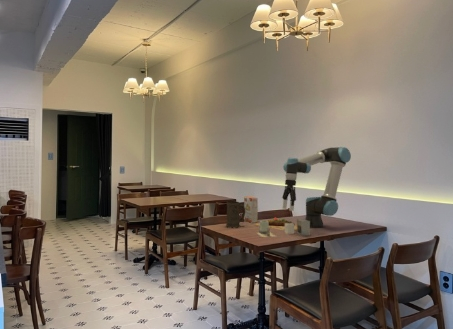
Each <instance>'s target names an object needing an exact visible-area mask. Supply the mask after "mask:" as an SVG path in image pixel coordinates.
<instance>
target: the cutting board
mask: <svg viewBox="0 0 453 329" xmlns="http://www.w3.org/2000/svg"><path fill="white" fill-rule="evenodd" d="M267 221H268V222H269V228H272V229H276V230H280V231H285V223H292V224H294V232H297V224H296V223H293V221H289V220H286V219H285V218H281V219H280V218H277V217H276V216H274V218H273V219H267ZM254 226H255V227H258V226H259V222H257V223H254Z"/></svg>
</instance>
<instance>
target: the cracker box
mask: <svg viewBox="0 0 453 329" xmlns="http://www.w3.org/2000/svg"><path fill="white" fill-rule="evenodd" d="M243 202H244V203H243V204H244V207H245V216H244V218H243V220H244V222H245V221H246V222H248V223H251V222H252V223H251V224H256V222H257V223H259V222H258V218H259V216H258V206H259V205H258V203H259V202H258V197H255V196H248V195H247V196H244V200H243Z"/></svg>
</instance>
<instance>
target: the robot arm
mask: <svg viewBox="0 0 453 329" xmlns="http://www.w3.org/2000/svg"><path fill="white" fill-rule="evenodd" d="M351 155H352V154H351V152H350V150H349V149H348V148H347V147H346V146H345V147H343V146H340V147H338V146H337V147H328V148H324V149H322V150H319V151H317V152H316V153H314V154H312V155H308V156H305V157H302V158H300V159H298V158H296V157H288V158H287V162H285V163H284V164H283V166H282V168H283V170H284V172H285V174H284V175H285V180H284V181H285V182H284V184H285V186H284V190H283V194H282V197H281V198H282V199H283V200H282V209H283V210H287V207H288V197H290V198H289V199H290V200H289V201H290V202H289V211H290V212H291V211H292V212H293V211H294V209H295V208H294V207H295V201H297V194H296V185H297V176H298V175H297V174H300V173H301V174H309V173H310V172H311V170H312V166H313V165H316V164H324V163H330V165H331V166H330V169H329V172H328V177H327V180H326V185H325V189H324V193H323V194H322V195H321V196H311V197H310V196H309V197H306V199H305V218H304V219H305V220H308V221H310V229H311V228H312V229H313V228H315V229H317V228H323V227H324V220H323V218H322V215H324V216H329V217H331V216H334V215H335V214H336V213H337V212H338V210H339V203H338V202H337V201H338V200H337V198H336V196H337V191H338V188H339V184H340V180H341V177H342V176H341V175H342V171H343V168H344V167H346V164H347V163H348V162H350V160H351Z"/></svg>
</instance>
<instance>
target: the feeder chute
mask: <svg viewBox="0 0 453 329" xmlns="http://www.w3.org/2000/svg"><path fill="white" fill-rule="evenodd" d="M296 226H297V231H296V234H297V235H299V236H302V237H305V236H310V235H311V227H310V221H308V220H305V218H304V219H296Z"/></svg>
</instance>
